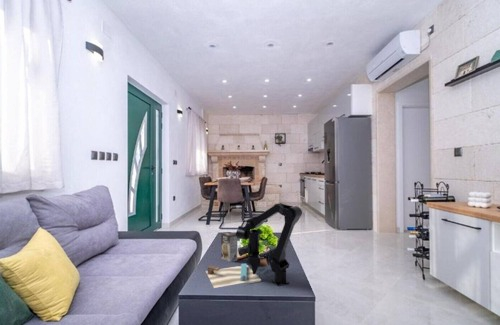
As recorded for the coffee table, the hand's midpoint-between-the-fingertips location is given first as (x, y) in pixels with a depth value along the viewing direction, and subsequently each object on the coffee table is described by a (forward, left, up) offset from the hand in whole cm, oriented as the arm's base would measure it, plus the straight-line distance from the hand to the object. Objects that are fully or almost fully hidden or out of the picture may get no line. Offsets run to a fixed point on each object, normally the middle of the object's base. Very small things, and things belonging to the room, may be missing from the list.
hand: (253, 270), depth 137 cm
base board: (+1, +12, -2) cm, 12 cm away
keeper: (+6, +20, -1) cm, 21 cm away
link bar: (+1, +5, -1) cm, 6 cm away
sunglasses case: (+17, -11, -3) cm, 20 cm away
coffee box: (+26, +6, -2) cm, 27 cm away
